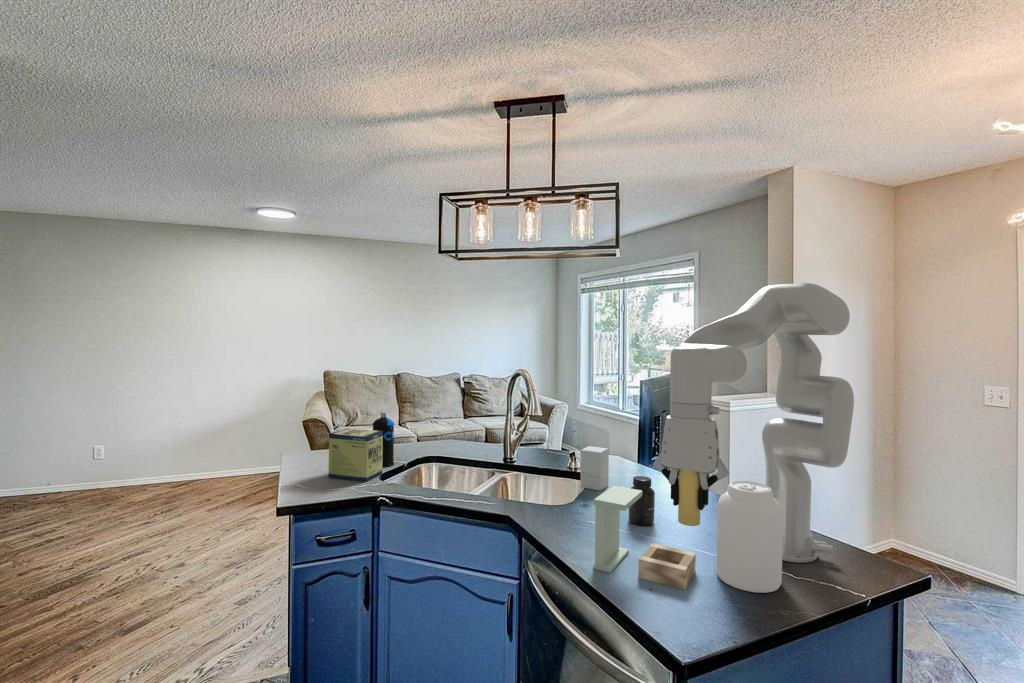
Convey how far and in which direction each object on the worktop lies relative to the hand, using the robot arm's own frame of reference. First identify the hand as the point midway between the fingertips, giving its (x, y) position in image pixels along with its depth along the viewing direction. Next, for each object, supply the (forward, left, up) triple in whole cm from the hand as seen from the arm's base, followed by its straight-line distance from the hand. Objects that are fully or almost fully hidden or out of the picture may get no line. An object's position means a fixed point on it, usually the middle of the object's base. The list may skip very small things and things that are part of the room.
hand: (689, 504), depth 99 cm
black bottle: (+121, -40, -19) cm, 129 cm away
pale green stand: (+17, -9, -19) cm, 27 cm away
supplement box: (+43, -59, -19) cm, 75 cm away
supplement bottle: (+20, -36, -19) cm, 45 cm away
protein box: (+118, -24, -19) cm, 122 cm away
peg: (0, 0, -3) cm, 3 cm away
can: (-9, -16, -19) cm, 26 cm away
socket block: (+6, -9, -19) cm, 21 cm away
